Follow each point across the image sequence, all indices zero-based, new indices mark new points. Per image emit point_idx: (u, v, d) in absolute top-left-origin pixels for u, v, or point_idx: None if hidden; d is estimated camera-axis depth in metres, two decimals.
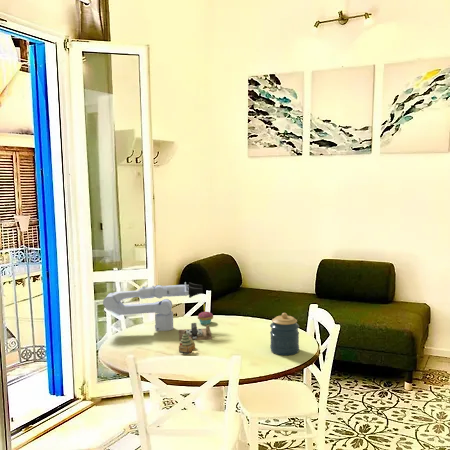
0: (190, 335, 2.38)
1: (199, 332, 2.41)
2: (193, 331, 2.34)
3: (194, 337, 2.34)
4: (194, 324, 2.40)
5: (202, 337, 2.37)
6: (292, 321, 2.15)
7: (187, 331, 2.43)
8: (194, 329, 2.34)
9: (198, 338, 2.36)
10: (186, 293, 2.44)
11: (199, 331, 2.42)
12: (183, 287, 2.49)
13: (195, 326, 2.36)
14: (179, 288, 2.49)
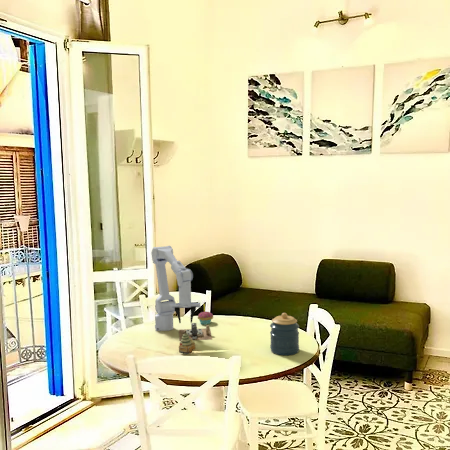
0: (190, 335, 2.38)
1: (199, 332, 2.41)
2: (193, 331, 2.34)
3: (194, 337, 2.34)
4: (194, 324, 2.40)
5: (202, 337, 2.37)
6: (292, 321, 2.15)
7: (187, 331, 2.43)
8: (194, 329, 2.34)
9: (198, 338, 2.36)
10: (170, 306, 2.33)
11: (199, 331, 2.42)
12: (181, 303, 2.31)
13: (195, 326, 2.36)
14: (180, 299, 2.31)
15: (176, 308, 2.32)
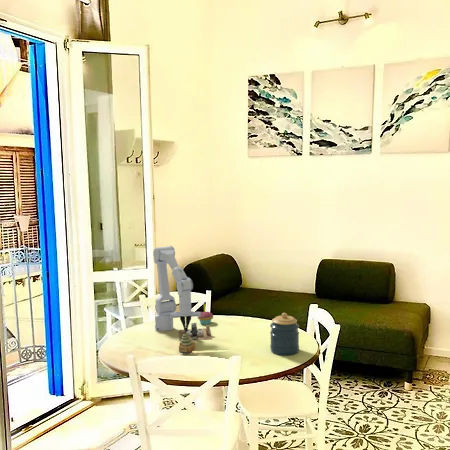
0: (190, 335, 2.38)
1: (199, 332, 2.41)
2: (193, 331, 2.34)
3: (194, 337, 2.34)
4: (194, 324, 2.40)
5: (202, 337, 2.37)
6: (292, 321, 2.15)
7: (187, 331, 2.43)
8: (194, 329, 2.34)
9: (198, 338, 2.36)
10: (170, 315, 2.33)
11: (199, 331, 2.42)
12: (181, 312, 2.31)
13: (195, 326, 2.36)
14: (180, 308, 2.32)
15: None
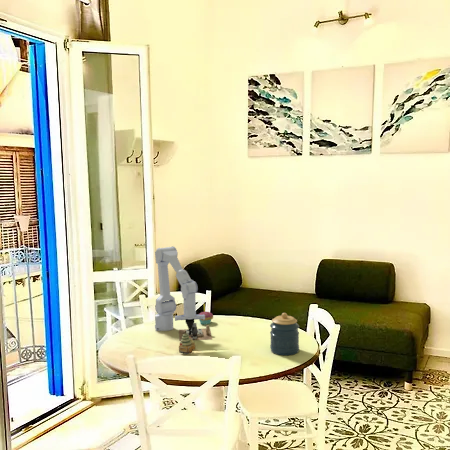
0: (190, 335, 2.38)
1: (199, 332, 2.41)
2: (193, 331, 2.34)
3: (194, 337, 2.34)
4: (194, 324, 2.40)
5: (202, 337, 2.37)
6: (292, 321, 2.15)
7: (187, 331, 2.43)
8: (194, 329, 2.34)
9: (198, 338, 2.36)
10: None
11: (199, 331, 2.42)
12: (185, 315, 2.32)
13: (195, 326, 2.36)
14: (184, 311, 2.32)
15: None
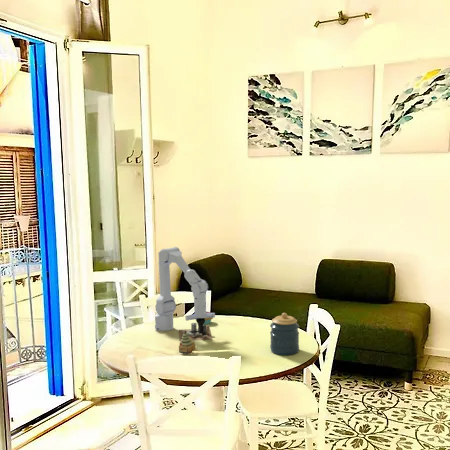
0: (196, 335, 2.38)
1: None
2: (204, 329, 2.36)
3: (205, 335, 2.37)
4: (194, 324, 2.40)
5: (202, 337, 2.37)
6: (292, 321, 2.15)
7: (188, 332, 2.40)
8: (205, 327, 2.36)
9: (198, 338, 2.36)
10: (186, 318, 2.33)
11: None
12: (197, 314, 2.33)
13: None
14: (196, 310, 2.33)
15: None
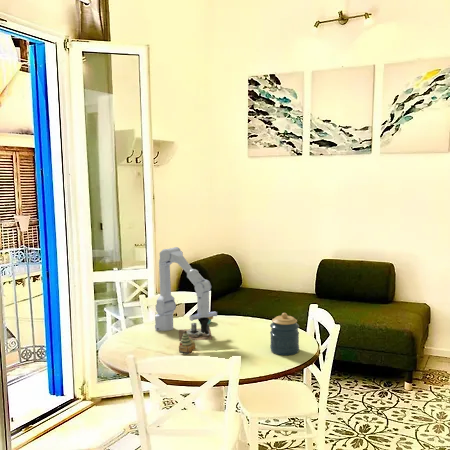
0: (199, 334, 2.39)
1: (199, 330, 2.44)
2: (207, 328, 2.38)
3: (208, 334, 2.39)
4: (194, 324, 2.40)
5: (202, 337, 2.37)
6: (292, 321, 2.15)
7: (189, 333, 2.39)
8: (208, 326, 2.38)
9: (198, 338, 2.36)
10: (190, 318, 2.33)
11: None
12: (201, 314, 2.34)
13: None
14: (200, 310, 2.34)
15: None
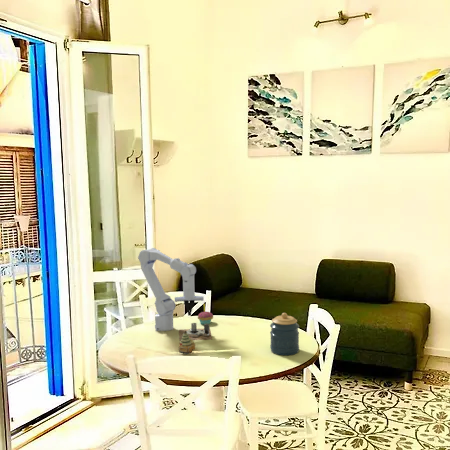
0: (199, 334, 2.39)
1: (199, 330, 2.44)
2: (207, 328, 2.38)
3: (208, 334, 2.39)
4: (194, 324, 2.40)
5: (202, 337, 2.37)
6: (292, 321, 2.15)
7: (189, 333, 2.39)
8: (208, 326, 2.38)
9: (198, 338, 2.36)
10: None
11: None
12: (185, 296, 2.42)
13: None
14: (184, 292, 2.42)
15: None
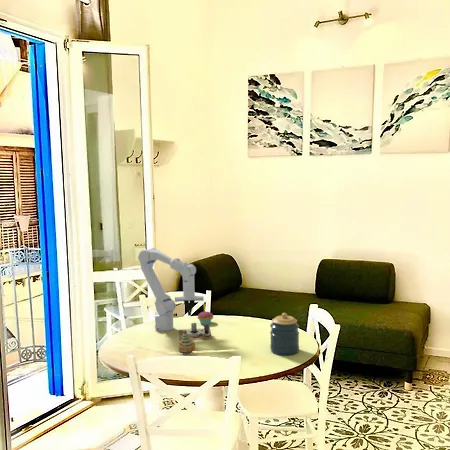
0: (199, 334, 2.39)
1: (199, 330, 2.44)
2: (207, 328, 2.38)
3: (208, 334, 2.39)
4: (194, 324, 2.40)
5: (202, 337, 2.37)
6: (292, 321, 2.15)
7: (189, 333, 2.39)
8: (208, 326, 2.38)
9: (198, 338, 2.36)
10: None
11: None
12: (185, 296, 2.42)
13: None
14: (184, 292, 2.42)
15: None
